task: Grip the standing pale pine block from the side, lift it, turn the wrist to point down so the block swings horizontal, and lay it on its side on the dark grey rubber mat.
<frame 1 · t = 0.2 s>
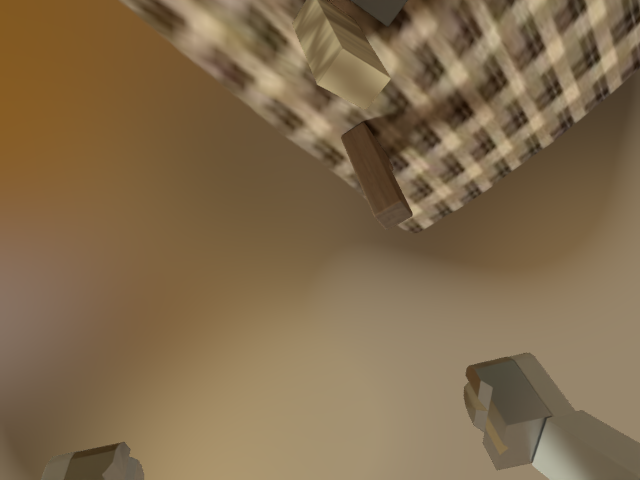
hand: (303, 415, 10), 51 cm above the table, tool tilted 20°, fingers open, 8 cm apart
pine block: (324, 22, 55), on the table
wooden block: (363, 144, 73), on the table
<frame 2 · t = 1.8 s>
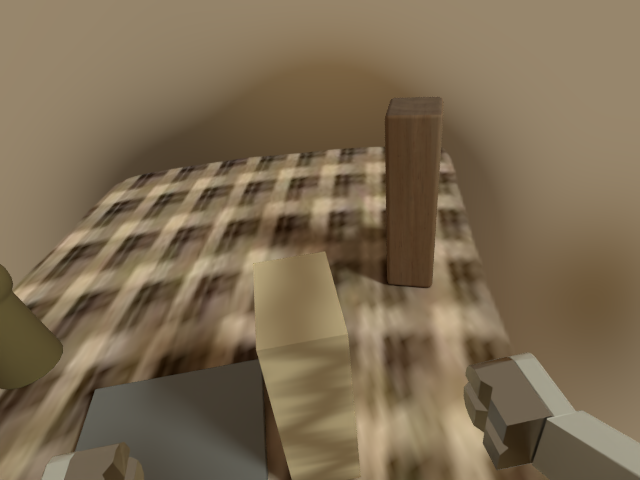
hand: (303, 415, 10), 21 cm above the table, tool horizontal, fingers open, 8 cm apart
pine block: (320, 435, 32), on the table
wooden block: (411, 262, 47), on the table
olive peg figure: (29, 363, 41), on the table
grey mat: (168, 472, 31), on the table
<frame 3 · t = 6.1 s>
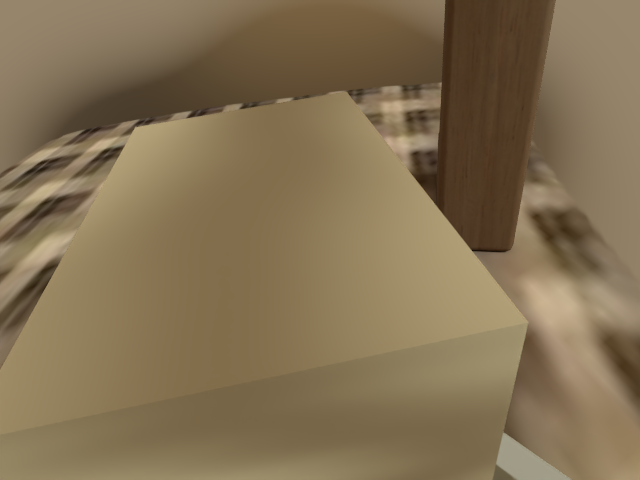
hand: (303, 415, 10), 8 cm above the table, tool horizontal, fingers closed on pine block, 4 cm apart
wooden block: (469, 215, 30), on the table
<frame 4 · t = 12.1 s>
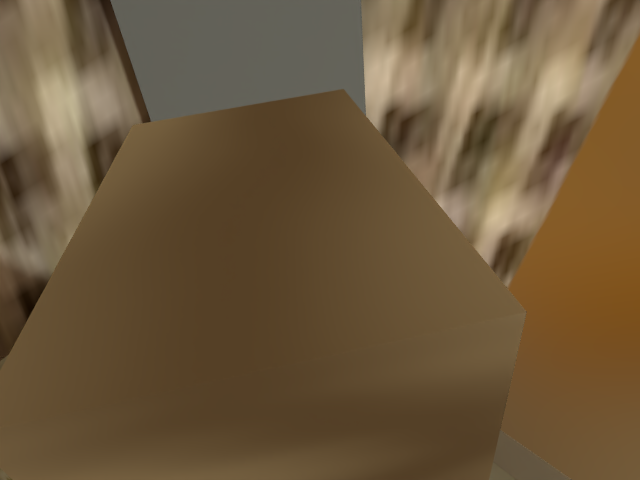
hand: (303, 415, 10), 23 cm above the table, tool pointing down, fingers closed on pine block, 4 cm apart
grey mat: (261, 112, 29), on the table
when the fingers open (6 cm above the table, at t = 15.6 s): pine block drops 2 cm, resting on grey mat.
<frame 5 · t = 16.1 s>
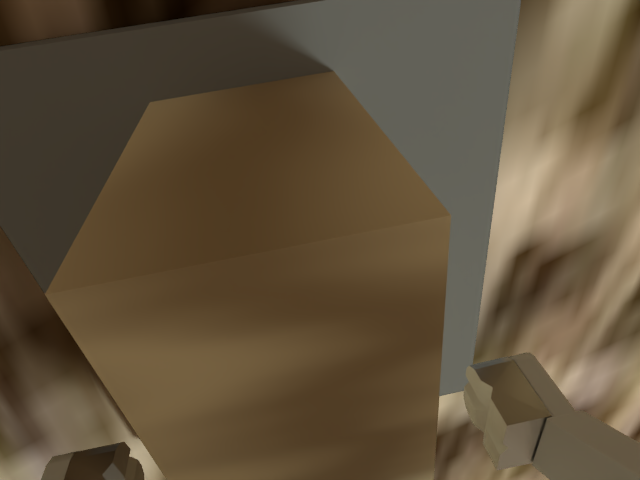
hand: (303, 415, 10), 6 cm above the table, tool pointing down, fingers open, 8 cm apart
grey mat: (282, 271, 15), on the table
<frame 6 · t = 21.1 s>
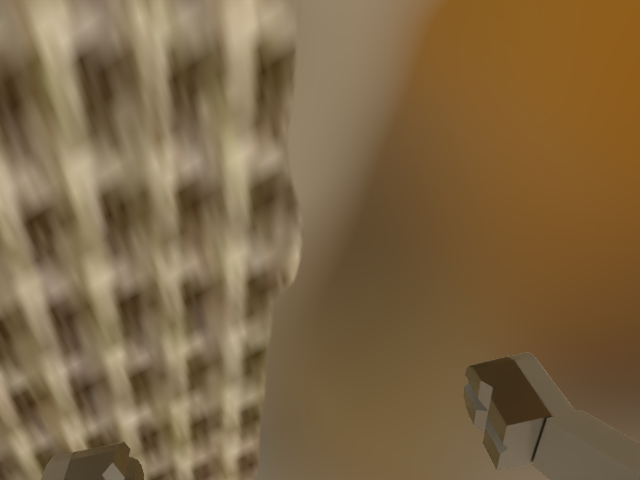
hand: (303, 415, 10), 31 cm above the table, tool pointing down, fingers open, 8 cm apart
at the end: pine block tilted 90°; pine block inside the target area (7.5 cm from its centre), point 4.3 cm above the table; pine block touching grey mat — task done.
